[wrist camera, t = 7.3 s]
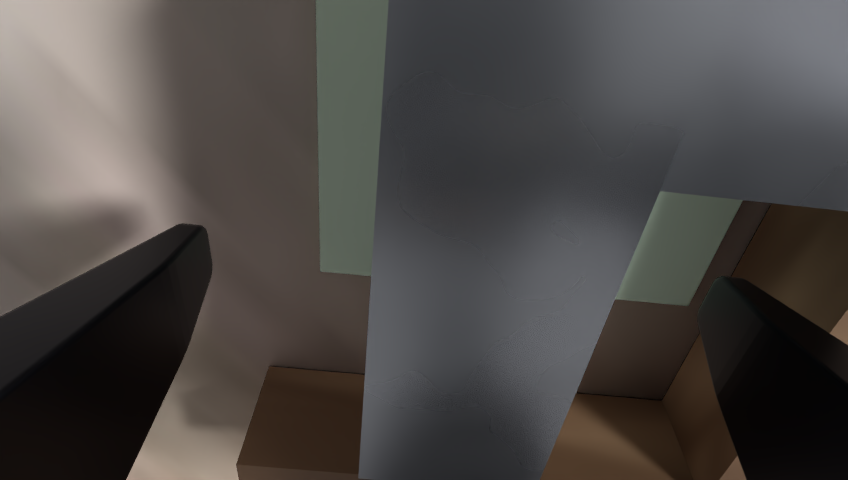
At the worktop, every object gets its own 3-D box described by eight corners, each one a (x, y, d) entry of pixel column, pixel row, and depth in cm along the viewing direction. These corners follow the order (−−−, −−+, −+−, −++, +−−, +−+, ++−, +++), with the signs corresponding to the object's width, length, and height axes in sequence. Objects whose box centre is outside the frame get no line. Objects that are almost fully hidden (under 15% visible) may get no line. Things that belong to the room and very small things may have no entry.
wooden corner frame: (693, 437, 17) (736, 538, 14) (272, 401, 16) (243, 499, 14) (1294, -486, 6) (1833, -697, 4) (167, -656, 6) (-33, -1019, 3)
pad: (685, 302, 13) (688, 306, 13) (321, 267, 13) (320, 271, 13) (911, -140, 8) (918, -140, 8) (313, -215, 8) (311, -216, 8)
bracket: (422, -180, 8) (403, -210, 4) (818, -129, 8) (1184, -105, 4) (384, 284, 13) (358, 478, 9) (626, 309, 13) (705, 507, 9)
